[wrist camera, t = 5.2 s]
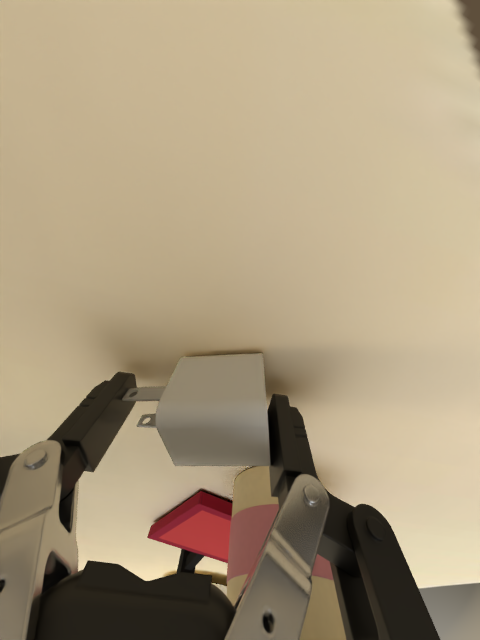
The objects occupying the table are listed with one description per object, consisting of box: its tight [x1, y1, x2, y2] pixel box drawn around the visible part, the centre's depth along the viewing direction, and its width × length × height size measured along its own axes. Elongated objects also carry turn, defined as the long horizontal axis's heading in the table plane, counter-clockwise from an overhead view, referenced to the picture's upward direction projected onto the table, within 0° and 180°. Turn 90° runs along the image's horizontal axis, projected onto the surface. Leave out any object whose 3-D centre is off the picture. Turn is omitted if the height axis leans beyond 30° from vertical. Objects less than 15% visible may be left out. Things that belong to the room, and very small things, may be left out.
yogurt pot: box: [227, 466, 346, 640], centre depth 14 cm, size 8×8×8 cm
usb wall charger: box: [122, 353, 270, 466], centre depth 10 cm, size 4×7×4 cm, turn 96°
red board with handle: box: [147, 491, 233, 574], centre depth 24 cm, size 30×3×15 cm
